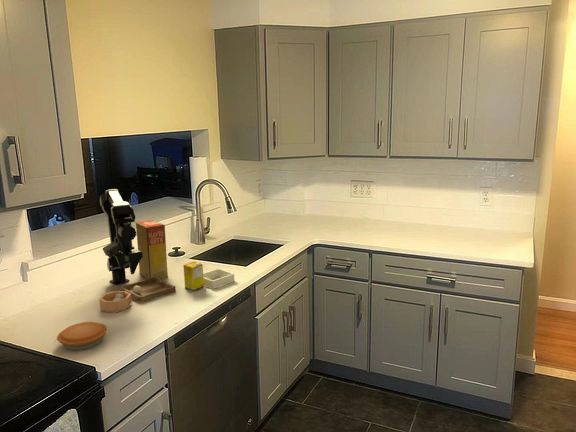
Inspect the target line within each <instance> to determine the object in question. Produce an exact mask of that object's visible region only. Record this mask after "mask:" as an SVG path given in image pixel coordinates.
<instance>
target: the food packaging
mask: <svg viewBox="0 0 576 432" xmlns="http://www.w3.org/2000/svg"><path fill="white" fill-rule="evenodd" d="M135 230H136V240H137V242H136V243H137V250H139V251H141V252H142V253H143V258H142V259H141V260H140V261H139V263H138V269H139V275H140V276H142V277H143V278H145V280H146V279H149V278H153V277H154V278H157V279H159V280H161V279H165V278H168V277H169V274H168V262H167V259H168V257H167V241H166V239H167V238H166V225H165V224H164V223H161V222H159V221H156V220H154V219H151V220H150V219H149V220H145V221H137V222H136V221H135Z"/></svg>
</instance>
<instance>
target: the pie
mask: <svg viewBox="0 0 576 432" xmlns="http://www.w3.org/2000/svg"><path fill="white" fill-rule="evenodd" d="M107 332H108V328H107V326H106V324H104V323H100V322H96V321H95V322H94V321H84V322H78V323H75V324H72V325H69V326H67V327H66V328H65V329H63V330H61V331H60V332H59V333H58V335H57V336H56V340H57V342H58V343H60V344H61V345H63V346H64V347H65V349H67V350H70V351H84V350H87V349H92V348H94V347H96V346H98V345H99V344H100V343H101V342H102V340H103V339H104V336H105V335H106V334H107Z"/></svg>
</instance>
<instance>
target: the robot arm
mask: <svg viewBox="0 0 576 432" xmlns="http://www.w3.org/2000/svg"><path fill="white" fill-rule="evenodd" d="M99 205H100V207H101V209H102V211H103V212H104V214H105V215H106V217H107V226H108V232H109V234H108V235H109V241H110V243H109V244H107V245H106V246H104V247H102V250H103V253H104V254H105V256H106V257H108V258H107V262H106V266H107V270H108V271H109V272H111V280H109V282H110V283H111V284H114V285H115V286H117V285H120V284H124V283H128V282H130V279H128V278H127V276H126V274H127V273H126V269H129V272H130V275H135V273H136V269H138V268H137V267H138V266H139V261H140V260H141V259H142V258H143V253H142V252H141V251H139V250H138V249H135V246H133V240H134V239H135V238H137V232H136V228H135V227H134V226H133V225H132V223H134V222H135V223H136V221H135V219H136V215H135V211H134V208H133V207H132V205H130V203H129V202H128V201H124V199H123V198H122V195H121V193H120V192H119V189H117V188H111V189H107V190H105V192H103V193H102V194H101V195H100V196H99Z"/></svg>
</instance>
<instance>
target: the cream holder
mask: <svg viewBox="0 0 576 432" xmlns="http://www.w3.org/2000/svg"><path fill="white" fill-rule="evenodd" d="M218 277H219V278H218ZM203 281H204V287H206V288H210V289H214V290H215V289H217V288H220V287H222V286H225V285H228V284H231V283H234V281H236V280H235V273H234V272H231V271H228V270H225V269H222V268H215V269H212V270H209V271H208V270H207V271H205V272H203Z"/></svg>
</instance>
